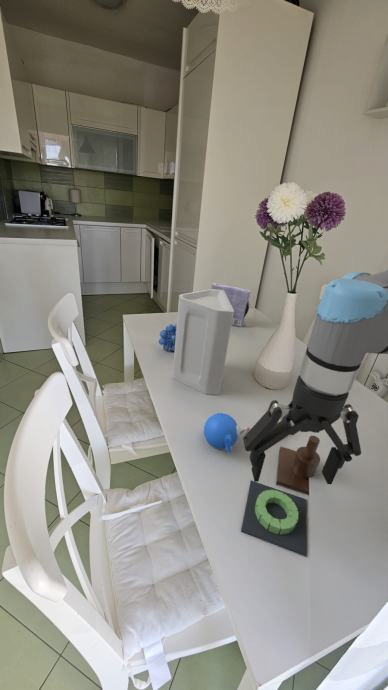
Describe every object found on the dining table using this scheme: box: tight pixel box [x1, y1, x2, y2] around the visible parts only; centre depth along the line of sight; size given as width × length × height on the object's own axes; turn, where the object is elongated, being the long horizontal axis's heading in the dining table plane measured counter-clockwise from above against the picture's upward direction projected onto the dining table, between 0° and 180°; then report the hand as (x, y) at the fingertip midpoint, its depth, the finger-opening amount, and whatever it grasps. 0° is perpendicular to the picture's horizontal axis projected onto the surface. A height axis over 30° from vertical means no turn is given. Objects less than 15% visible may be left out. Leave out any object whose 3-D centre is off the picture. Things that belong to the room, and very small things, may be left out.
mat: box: [240, 479, 307, 557], centre depth 62 cm, size 12×12×1 cm
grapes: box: [158, 322, 177, 352], centre depth 115 cm, size 12×7×12 cm, turn 94°
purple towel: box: [210, 282, 251, 328], centre depth 144 cm, size 19×5×18 cm, turn 72°
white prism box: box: [172, 288, 234, 396], centre depth 96 cm, size 19×15×28 cm
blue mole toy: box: [203, 412, 251, 454], centre depth 76 cm, size 12×12×8 cm
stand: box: [275, 435, 321, 496], centre depth 69 cm, size 11×11×11 cm
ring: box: [255, 490, 298, 535], centre depth 61 cm, size 8×8×2 cm
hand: (290, 476), depth 56 cm, fingers open, 13 cm apart
